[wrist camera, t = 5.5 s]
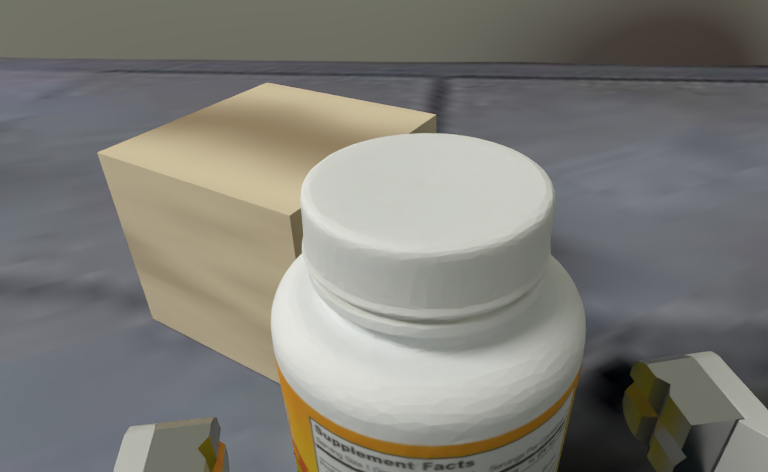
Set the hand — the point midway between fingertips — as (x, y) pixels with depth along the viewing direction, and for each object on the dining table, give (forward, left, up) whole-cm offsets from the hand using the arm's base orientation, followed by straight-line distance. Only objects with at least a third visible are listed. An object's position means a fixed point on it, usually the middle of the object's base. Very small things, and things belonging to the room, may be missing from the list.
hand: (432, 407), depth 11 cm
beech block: (-6, -9, -6) cm, 13 cm away
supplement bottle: (0, 0, -6) cm, 6 cm away
